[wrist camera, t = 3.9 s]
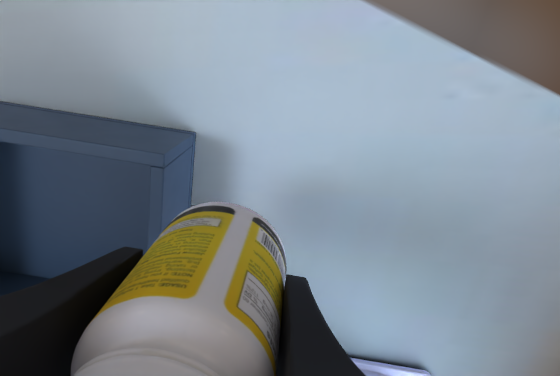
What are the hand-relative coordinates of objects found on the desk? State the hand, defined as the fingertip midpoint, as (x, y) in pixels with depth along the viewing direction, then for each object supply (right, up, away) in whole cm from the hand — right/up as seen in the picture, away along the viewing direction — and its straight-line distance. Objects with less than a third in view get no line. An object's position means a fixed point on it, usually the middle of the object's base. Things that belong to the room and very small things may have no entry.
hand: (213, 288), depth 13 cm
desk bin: (-9, +2, +9) cm, 13 cm away
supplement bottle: (0, +1, +2) cm, 2 cm away
